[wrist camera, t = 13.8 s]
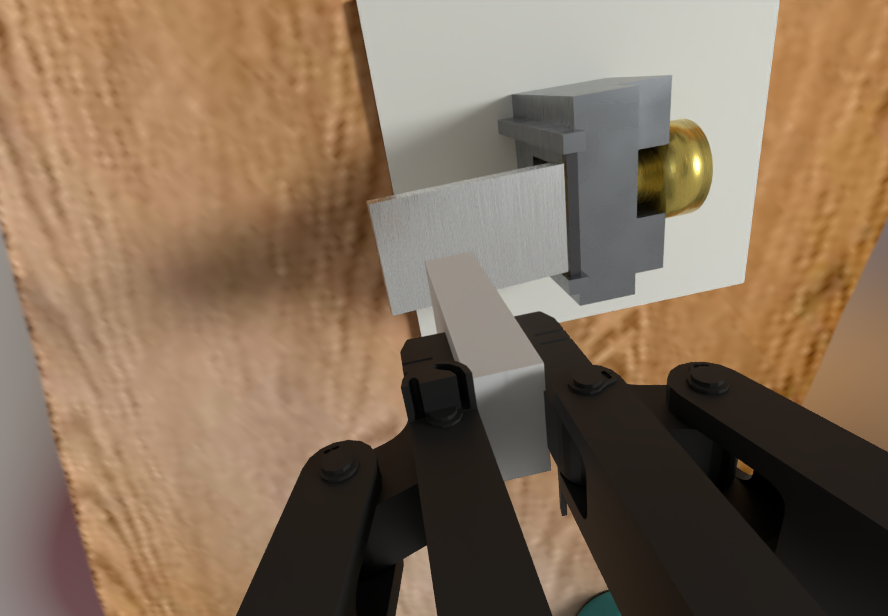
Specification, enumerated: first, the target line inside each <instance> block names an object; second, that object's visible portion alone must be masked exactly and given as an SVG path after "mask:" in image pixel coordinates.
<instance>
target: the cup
mask: <svg viewBox="0 0 888 616" xmlns="http://www.w3.org/2000/svg"><path fill="white" fill-rule="evenodd" d="M578 616H621V614H620V611H619V609H618V607H617V605H616V603H615V601H614V599H613V597H612V595H611V593H610V591H608V592H605V593H603V594H601V595H599V596H597V597H595V598H594V599H592V600H591V601H589V602H588V603H587V604H586V605H585V606H584V607H583V608H582V609H581V611H580V612H579V614H578Z"/></svg>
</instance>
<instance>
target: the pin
mask: <svg viewBox="0 0 888 616" xmlns="http://www.w3.org/2000/svg"><path fill="white" fill-rule="evenodd" d="M712 176H713V160H712V153H711V149H710V145H709V142H708V140H707V137H706V135H705V134H704V132H703V131H702V129H701V128H700V127H699V126H698V125H697V124H696V123H695V122H693V121H691V120H689V119H677V120H672V121H670V132H669V144H666V145H660V146H655V147H650V148H644V149H639V150H638V180H637V204H639V203H642V204H645V205H647V206H650V207H652V208H655V209H657V210H660V211H662V212H665V213H666V216H665V218H670V217H675V216H680V215H685V214H690V213H692V212H695V211H696V210H698V209H699V208H700V207H701V206H702V204H703V203H704V201H705V200H706V198H707V196H708V194H709V190H710V187H711V183H712ZM462 181H463V180H462ZM457 182H459V181H457ZM452 183H454V182H452Z"/></svg>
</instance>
